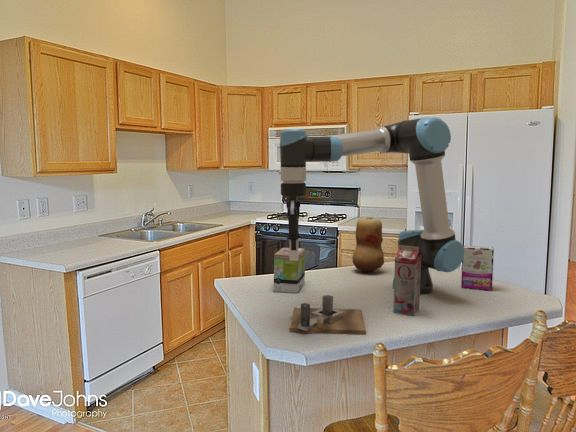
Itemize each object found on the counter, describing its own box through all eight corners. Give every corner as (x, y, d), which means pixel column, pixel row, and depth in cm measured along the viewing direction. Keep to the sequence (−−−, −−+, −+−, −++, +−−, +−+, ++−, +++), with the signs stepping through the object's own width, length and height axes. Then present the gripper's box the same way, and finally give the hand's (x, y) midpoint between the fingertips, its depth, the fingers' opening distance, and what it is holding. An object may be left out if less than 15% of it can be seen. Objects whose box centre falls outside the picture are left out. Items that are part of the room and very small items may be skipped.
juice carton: (413, 316, 139) (416, 248, 136) (393, 312, 142) (395, 246, 139) (419, 310, 144) (421, 245, 142) (399, 306, 148) (401, 243, 145)
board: (361, 313, 142) (361, 289, 141) (366, 334, 124) (366, 307, 123) (294, 311, 144) (294, 287, 143) (289, 332, 126) (289, 305, 125)
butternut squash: (354, 275, 189) (355, 219, 186) (350, 268, 202) (351, 215, 199) (386, 275, 189) (388, 218, 186) (380, 268, 202) (381, 215, 199)
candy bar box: (491, 287, 170) (493, 246, 168) (492, 291, 165) (494, 249, 163) (460, 285, 174) (462, 244, 172) (460, 288, 170) (462, 247, 168)
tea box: (298, 293, 163) (298, 255, 162) (273, 292, 165) (272, 254, 164) (305, 282, 178) (305, 247, 176) (281, 281, 180) (281, 246, 178)
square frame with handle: (325, 312, 139) (325, 291, 138) (343, 317, 134) (344, 295, 133) (292, 326, 126) (292, 303, 126) (311, 332, 122) (311, 308, 121)
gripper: (282, 181, 135) (283, 255, 138) (278, 183, 122) (279, 265, 125) (306, 181, 134) (307, 255, 137) (305, 183, 121) (305, 265, 124)
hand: (294, 260), depth 131 cm, fingers closed
